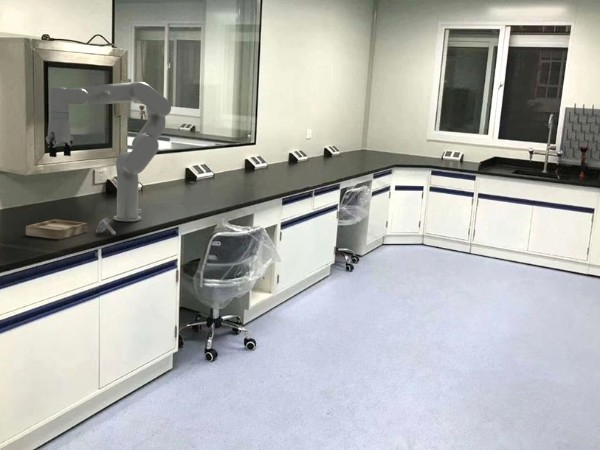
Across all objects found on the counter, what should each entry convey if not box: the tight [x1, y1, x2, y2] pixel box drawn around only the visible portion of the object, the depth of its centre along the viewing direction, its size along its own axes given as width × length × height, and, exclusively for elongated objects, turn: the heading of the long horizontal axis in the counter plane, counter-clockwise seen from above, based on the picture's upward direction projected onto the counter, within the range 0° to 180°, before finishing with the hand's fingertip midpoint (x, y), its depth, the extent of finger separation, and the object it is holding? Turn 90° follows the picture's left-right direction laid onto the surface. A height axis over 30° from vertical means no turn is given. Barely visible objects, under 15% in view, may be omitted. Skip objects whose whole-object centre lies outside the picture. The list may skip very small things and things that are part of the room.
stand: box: [96, 217, 117, 236], centre depth 251 cm, size 8×5×8 cm
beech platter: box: [25, 219, 88, 240], centre depth 247 cm, size 18×16×4 cm
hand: (60, 156), depth 260 cm, fingers open, 9 cm apart
